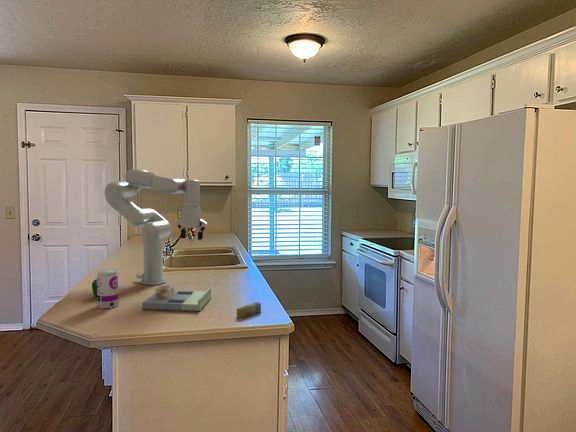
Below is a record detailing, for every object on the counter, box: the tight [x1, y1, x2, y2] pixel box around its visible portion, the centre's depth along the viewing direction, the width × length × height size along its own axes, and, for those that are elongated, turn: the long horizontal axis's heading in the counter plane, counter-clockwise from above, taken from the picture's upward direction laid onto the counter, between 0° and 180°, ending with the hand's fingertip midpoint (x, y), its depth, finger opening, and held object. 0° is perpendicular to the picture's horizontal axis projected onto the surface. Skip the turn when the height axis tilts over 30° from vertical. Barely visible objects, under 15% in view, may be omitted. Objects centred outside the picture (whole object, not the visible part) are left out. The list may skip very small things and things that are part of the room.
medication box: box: [236, 301, 262, 320], centre depth 176 cm, size 12×3×4 cm, turn 143°
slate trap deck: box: [142, 287, 212, 313], centre depth 188 cm, size 24×20×5 cm
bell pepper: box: [91, 278, 97, 298], centre depth 196 cm, size 8×8×10 cm
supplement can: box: [96, 268, 119, 309], centre depth 182 cm, size 8×8×15 cm
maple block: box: [155, 285, 175, 299], centre depth 188 cm, size 6×6×4 cm
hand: (191, 238), depth 216 cm, fingers open, 9 cm apart
